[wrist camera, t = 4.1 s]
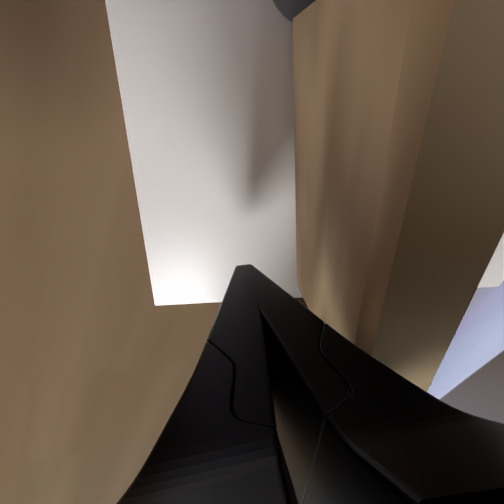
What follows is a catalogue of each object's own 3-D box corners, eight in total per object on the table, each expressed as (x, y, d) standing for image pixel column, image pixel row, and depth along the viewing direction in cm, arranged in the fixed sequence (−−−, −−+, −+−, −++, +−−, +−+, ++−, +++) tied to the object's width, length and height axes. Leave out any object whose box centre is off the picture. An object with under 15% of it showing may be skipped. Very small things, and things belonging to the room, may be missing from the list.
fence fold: (332, 277, 11) (420, 403, 7) (293, 285, 11) (356, 419, 7) (354, 11, 7) (695, -165, 2) (286, 19, 7) (489, -151, 2)
